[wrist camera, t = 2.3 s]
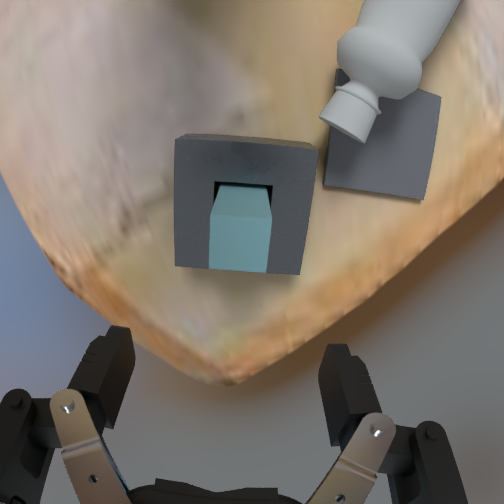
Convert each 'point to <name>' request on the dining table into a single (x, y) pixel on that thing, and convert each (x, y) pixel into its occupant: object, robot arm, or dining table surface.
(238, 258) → the peg
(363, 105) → the bottle
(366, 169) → the mat
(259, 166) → the socket block
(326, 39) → the dining table surface
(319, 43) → the dining table surface
